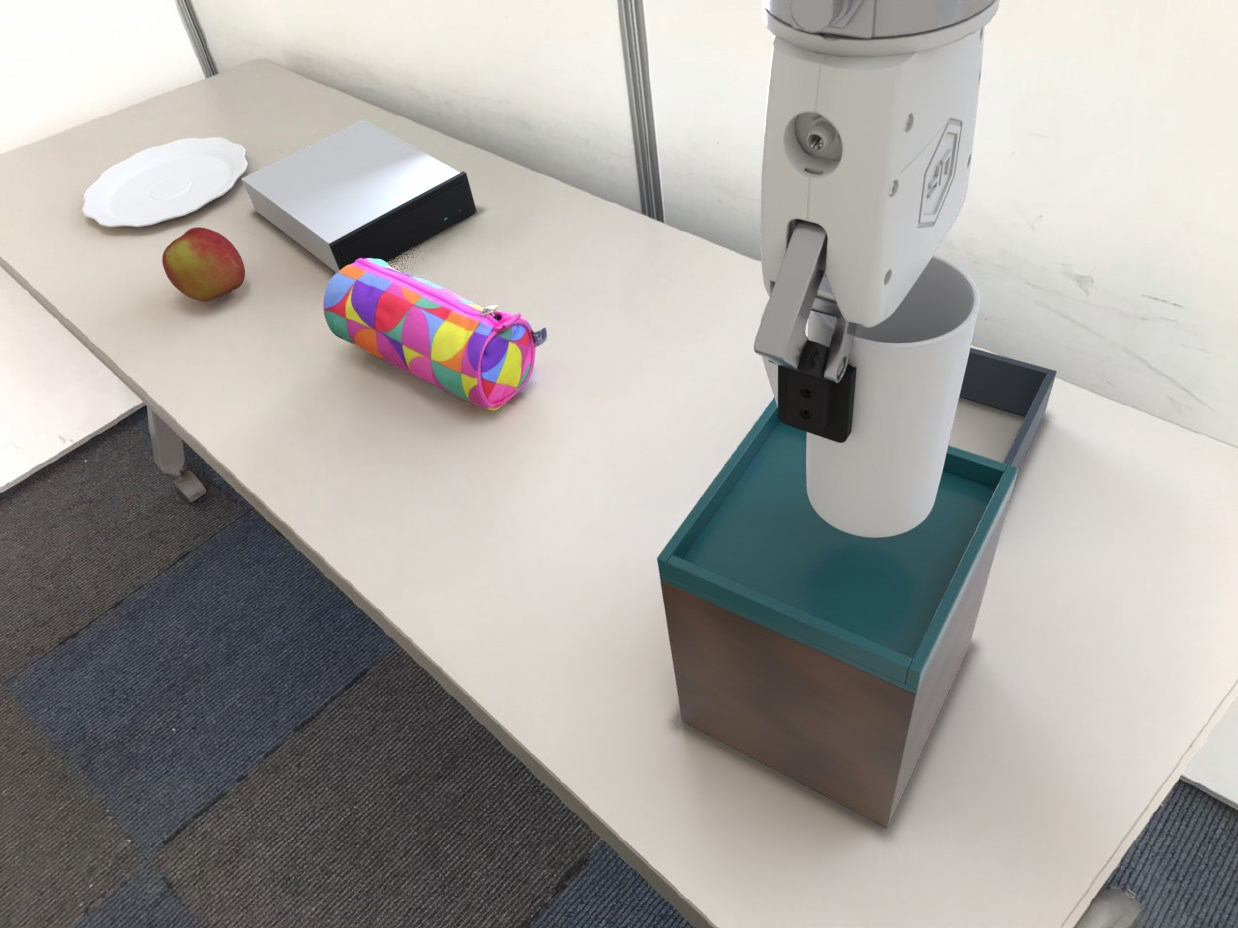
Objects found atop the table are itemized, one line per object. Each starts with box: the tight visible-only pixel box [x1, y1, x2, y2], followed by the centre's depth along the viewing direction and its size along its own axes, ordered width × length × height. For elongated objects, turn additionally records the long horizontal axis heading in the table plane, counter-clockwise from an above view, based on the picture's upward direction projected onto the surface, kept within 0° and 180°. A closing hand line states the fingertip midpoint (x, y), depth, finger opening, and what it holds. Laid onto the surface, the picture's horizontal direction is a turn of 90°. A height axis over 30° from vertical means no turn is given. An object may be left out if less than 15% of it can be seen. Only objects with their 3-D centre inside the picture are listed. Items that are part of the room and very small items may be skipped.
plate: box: [81, 136, 249, 228], centre depth 121 cm, size 21×21×2 cm
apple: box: [161, 226, 246, 303], centre depth 101 cm, size 8×8×8 cm
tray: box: [656, 396, 1019, 694], centre depth 51 cm, size 14×14×2 cm
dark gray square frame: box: [959, 346, 1058, 471], centre depth 74 cm, size 14×14×5 cm
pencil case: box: [322, 258, 548, 411], centre depth 87 cm, size 22×9×9 cm, turn 56°
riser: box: [659, 492, 1013, 829], centre depth 57 cm, size 14×14×16 cm
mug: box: [759, 254, 981, 538], centre depth 44 cm, size 10×7×12 cm, turn 47°
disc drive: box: [241, 118, 477, 274], centre depth 110 cm, size 18×22×5 cm
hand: (849, 373), depth 43 cm, fingers closed on mug, 6 cm apart
